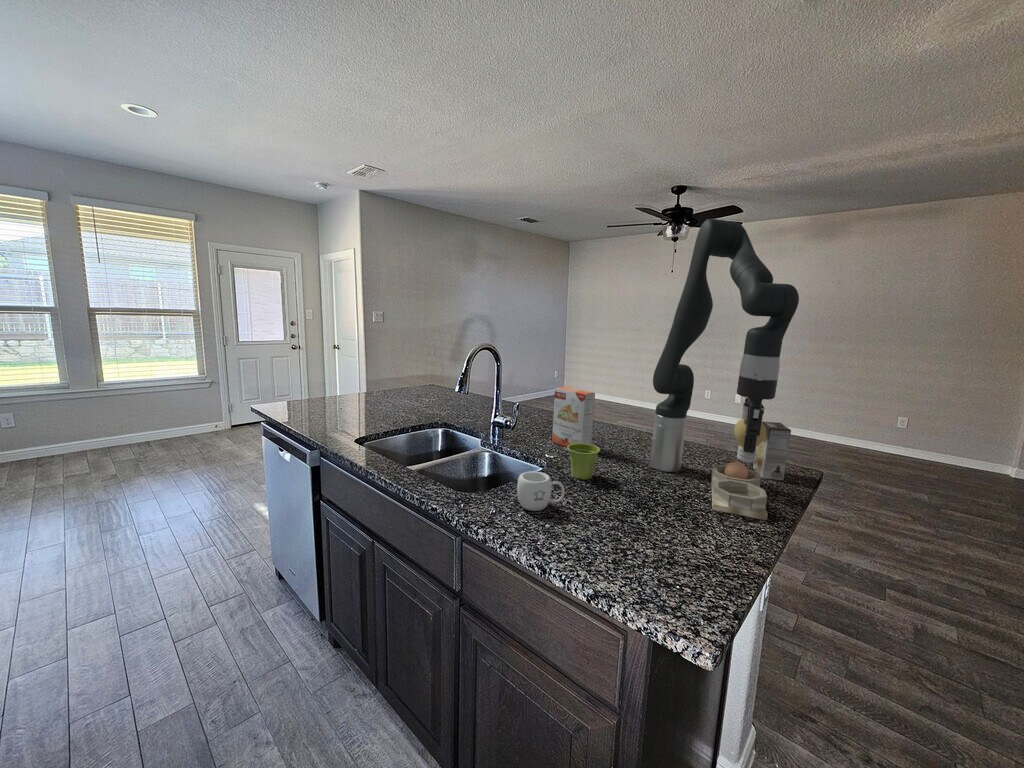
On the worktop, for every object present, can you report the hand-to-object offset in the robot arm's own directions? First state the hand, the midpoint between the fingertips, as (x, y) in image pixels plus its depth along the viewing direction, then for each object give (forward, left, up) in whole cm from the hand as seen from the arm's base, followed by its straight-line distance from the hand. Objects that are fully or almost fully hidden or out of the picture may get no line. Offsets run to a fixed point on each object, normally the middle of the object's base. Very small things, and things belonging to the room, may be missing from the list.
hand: (747, 447), depth 100 cm
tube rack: (+1, +19, -19) cm, 27 cm away
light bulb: (0, 0, -3) cm, 3 cm away
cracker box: (-52, +39, -19) cm, 68 cm away
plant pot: (-41, +12, -19) cm, 47 cm away
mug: (-45, -13, -19) cm, 50 cm away
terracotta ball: (+1, +26, -15) cm, 30 cm away
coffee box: (+11, +43, -19) cm, 49 cm away
